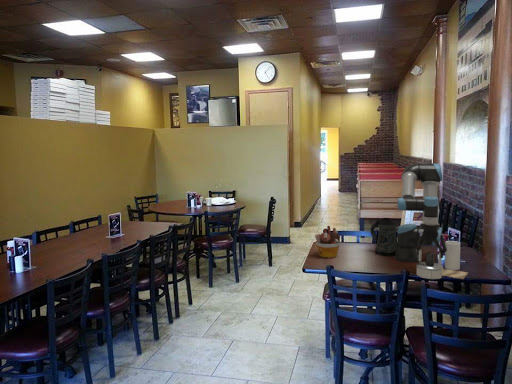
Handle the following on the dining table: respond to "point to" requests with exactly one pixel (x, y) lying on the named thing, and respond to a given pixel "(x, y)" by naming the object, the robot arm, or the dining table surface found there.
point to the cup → (452, 255)
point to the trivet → (454, 274)
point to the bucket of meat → (328, 243)
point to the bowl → (429, 273)
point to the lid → (430, 263)
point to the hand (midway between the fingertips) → (429, 262)
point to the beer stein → (385, 237)
